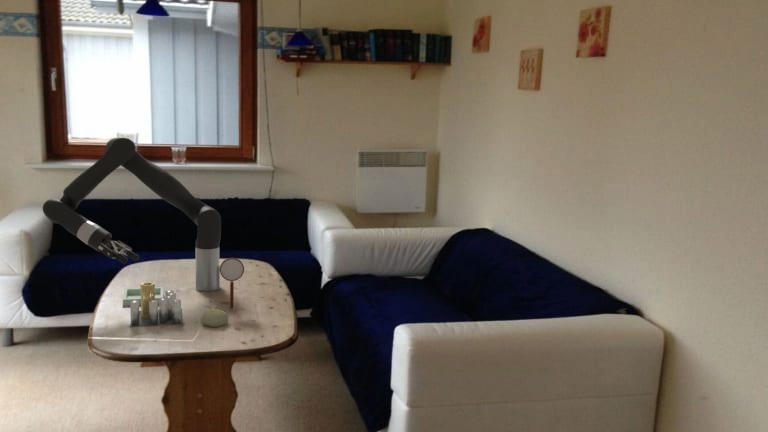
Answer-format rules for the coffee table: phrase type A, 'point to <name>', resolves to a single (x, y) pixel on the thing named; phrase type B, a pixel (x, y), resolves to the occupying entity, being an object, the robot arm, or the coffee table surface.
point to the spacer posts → (167, 310)
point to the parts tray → (139, 295)
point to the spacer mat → (147, 323)
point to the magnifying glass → (231, 274)
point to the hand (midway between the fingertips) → (132, 260)
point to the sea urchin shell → (214, 318)
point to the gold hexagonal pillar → (146, 298)
